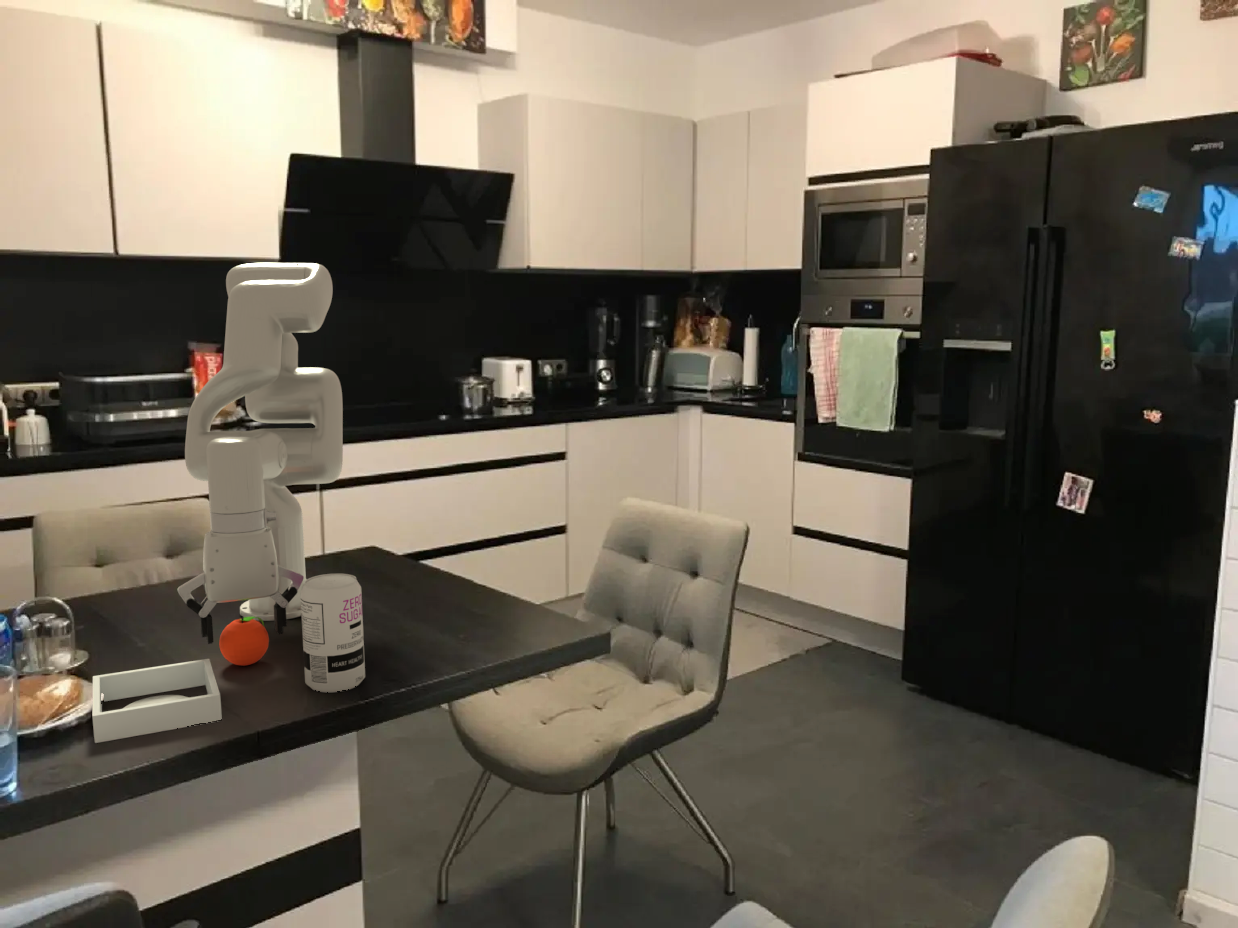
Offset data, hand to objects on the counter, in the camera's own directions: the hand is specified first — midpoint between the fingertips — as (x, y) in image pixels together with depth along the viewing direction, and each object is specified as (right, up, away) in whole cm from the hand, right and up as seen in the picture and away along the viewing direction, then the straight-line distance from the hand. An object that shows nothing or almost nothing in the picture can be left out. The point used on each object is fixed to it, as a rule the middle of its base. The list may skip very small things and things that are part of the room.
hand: (244, 636), depth 150 cm
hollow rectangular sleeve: (-6, -7, -16) cm, 18 cm away
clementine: (0, -4, +2) cm, 5 cm away
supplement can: (+15, -6, -6) cm, 17 cm away
